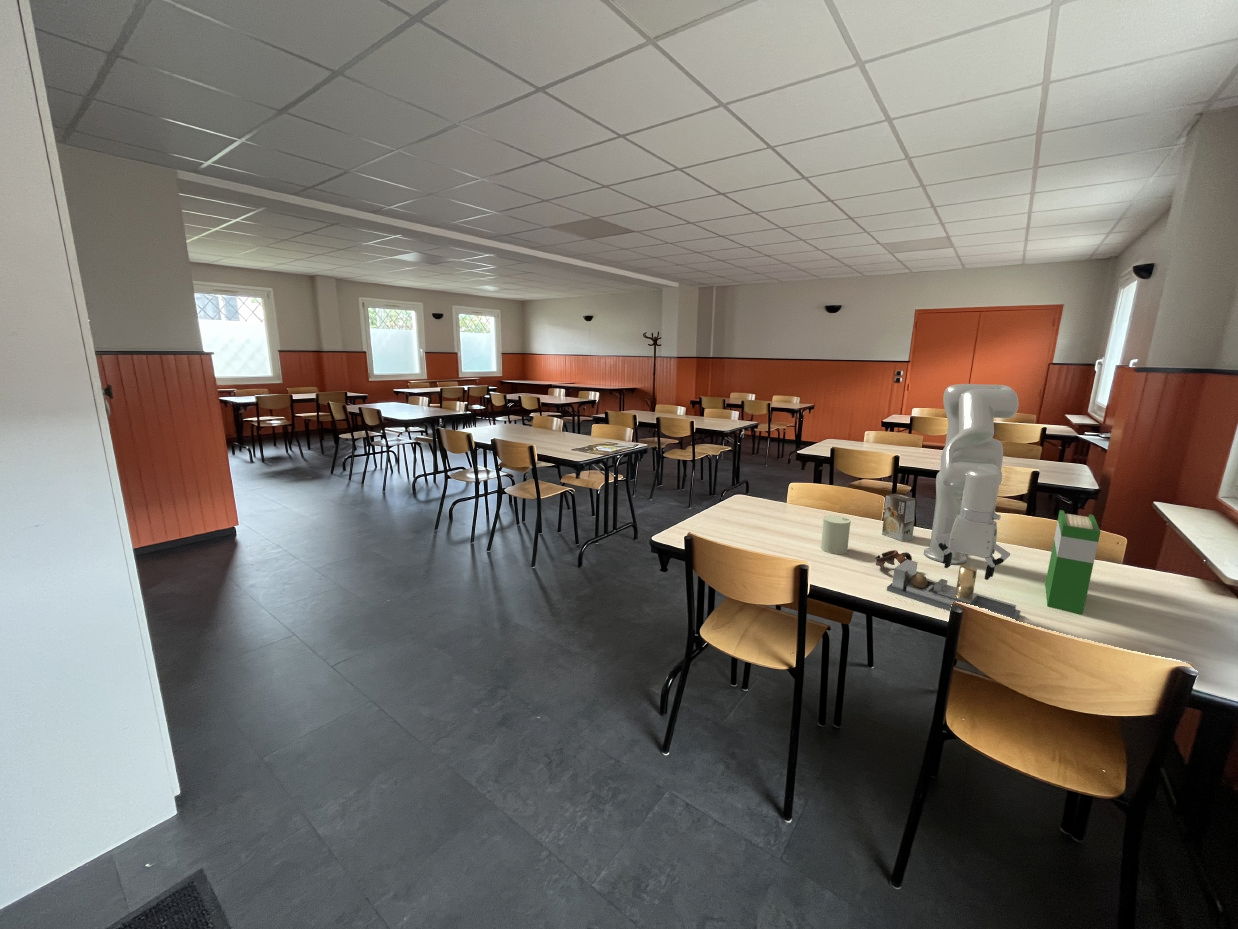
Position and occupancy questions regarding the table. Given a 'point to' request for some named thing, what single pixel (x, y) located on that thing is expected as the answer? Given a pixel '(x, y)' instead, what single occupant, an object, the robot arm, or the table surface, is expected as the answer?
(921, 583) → the walnut
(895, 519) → the coffee box
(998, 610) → the base
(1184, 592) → the table surface
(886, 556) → the rusty shackles
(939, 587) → the jaw carriage
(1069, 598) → the hardback book
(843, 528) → the can
